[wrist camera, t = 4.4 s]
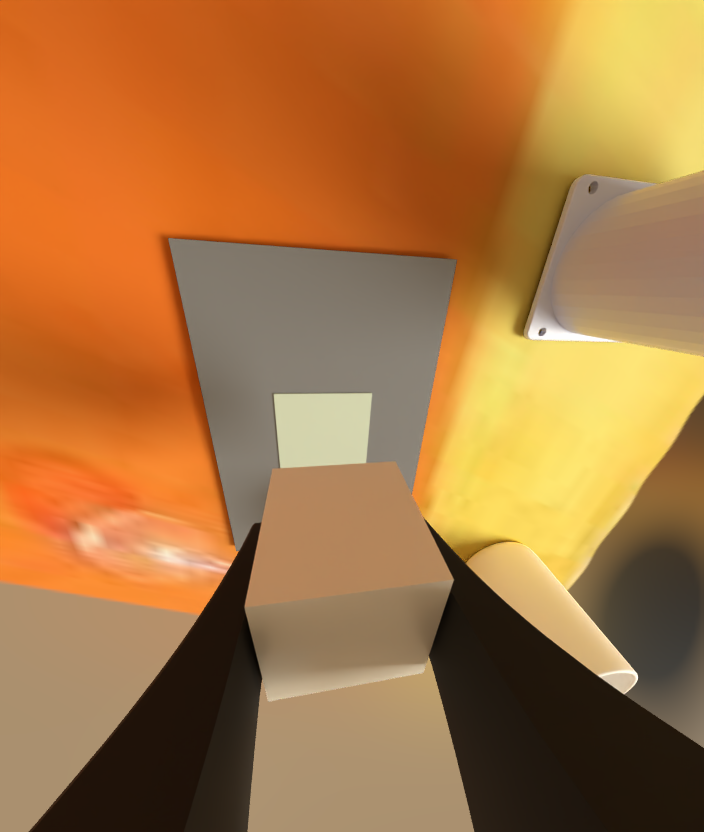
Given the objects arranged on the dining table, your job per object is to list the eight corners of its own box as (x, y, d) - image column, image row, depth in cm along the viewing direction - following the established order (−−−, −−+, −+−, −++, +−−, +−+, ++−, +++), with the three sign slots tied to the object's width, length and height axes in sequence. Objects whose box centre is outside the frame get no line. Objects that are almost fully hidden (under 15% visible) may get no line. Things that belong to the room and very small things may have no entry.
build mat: (452, 260, 14) (458, 259, 14) (402, 531, 23) (404, 536, 23) (173, 239, 12) (167, 237, 12) (237, 545, 21) (236, 552, 21)
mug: (414, 581, 27) (466, 730, 18) (455, 526, 24) (543, 671, 15) (500, 591, 31) (581, 721, 22) (546, 544, 28) (662, 671, 19)
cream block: (395, 461, 10) (453, 579, 6) (384, 542, 12) (423, 672, 8) (272, 468, 9) (244, 607, 5) (282, 553, 11) (268, 701, 7)
